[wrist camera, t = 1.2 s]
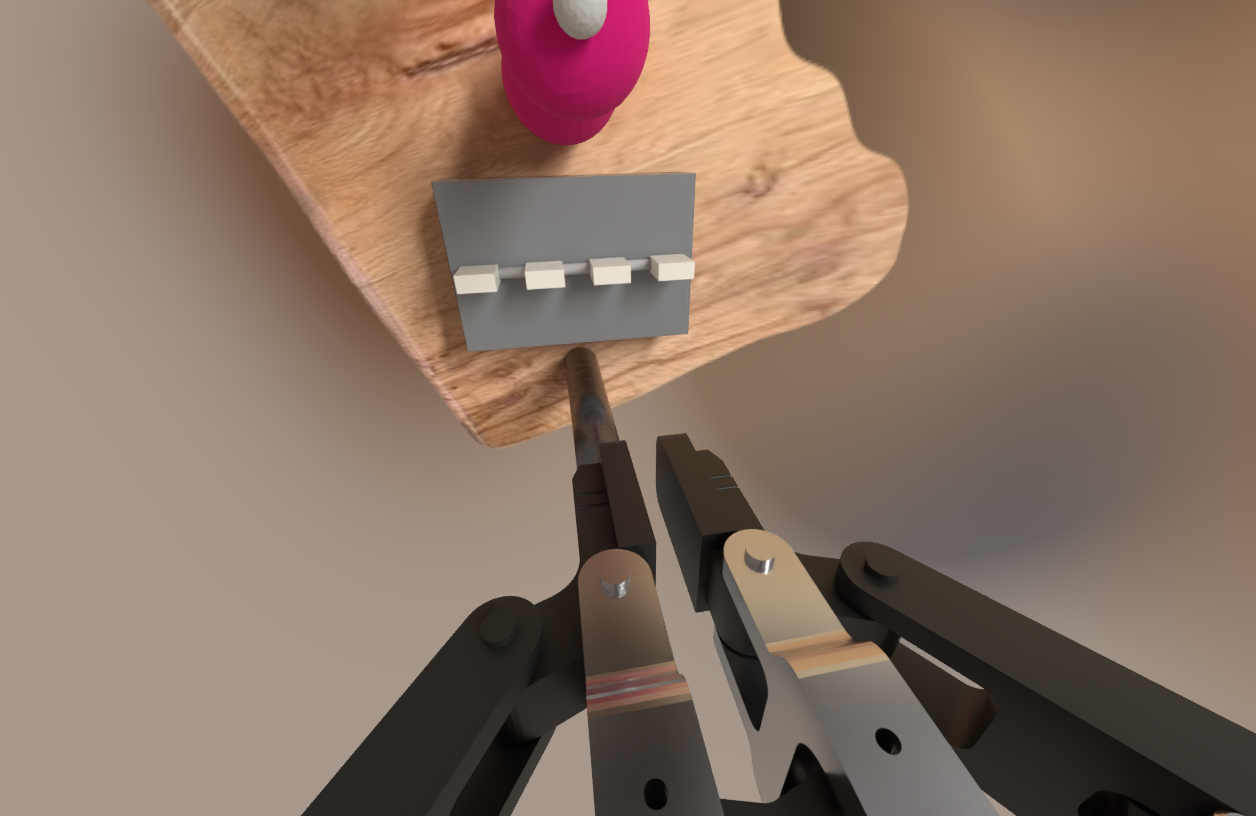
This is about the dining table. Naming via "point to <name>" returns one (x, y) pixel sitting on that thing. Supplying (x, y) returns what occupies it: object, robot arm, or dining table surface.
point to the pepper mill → (570, 62)
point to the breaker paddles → (572, 272)
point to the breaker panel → (568, 254)
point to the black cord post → (588, 405)
